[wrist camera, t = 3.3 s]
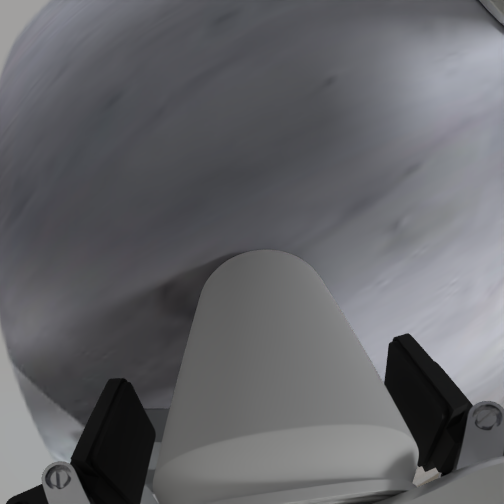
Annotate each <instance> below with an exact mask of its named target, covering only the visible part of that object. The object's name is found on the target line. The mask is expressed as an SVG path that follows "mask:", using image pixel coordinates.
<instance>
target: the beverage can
mask: <svg viewBox="0 0 504 504" xmlns="http://www.w3.org/2000/svg"><path fill="white" fill-rule="evenodd" d="M418 458H419V451H418V447H417V444H416V442H415V440H414V438H413V436H412V435H411V433H410V431H409V429H408V427H407V425H406V423H405V421H404V419H403V418H402V416H401V414H400V412H399V410H398V408H397V407H396V405H395V403H394V401H393V399H392V397H391V396H390V394H389V392H388V390H387V388H386V387H385V385H384V383H383V381H382V379H381V378H380V376H379V374H378V372H377V371H376V369H375V367H374V365H373V364H372V362H371V360H370V358H369V357H368V355H367V353H366V352H365V350H364V348H363V346H362V345H361V343H360V341H359V340H358V338H357V336H356V335H355V333H354V331H353V330H352V328H351V326H350V325H349V323H348V321H347V320H346V318H345V316H344V315H343V313H342V311H341V310H340V308H339V306H338V305H337V303H336V301H335V300H334V298H333V297H332V295H331V293H330V292H329V290H328V288H327V287H326V285H325V284H324V282H323V280H322V279H321V277H320V276H319V274H318V273H317V272H316V271H315V270H314V269H313V268H312V267H311V266H310V265H309V264H308V263H307V262H305V261H304V260H302V259H301V258H299V257H297V256H295V255H292V254H290V253H287V252H283V251H278V250H266V249H265V250H254V251H249V252H246V253H242V254H240V255H237V256H235V257H233V258H231V259H229V260H227V261H226V262H224V263H223V264H222V265H220V266H219V267H218V268H217V269H216V270H215V271H214V272H213V273H212V274H211V276H210V277H209V278H208V280H207V281H206V283H205V285H204V287H203V289H202V292H201V295H200V298H199V301H198V305H197V308H196V312H195V315H194V319H193V323H192V326H191V330H190V333H189V337H188V341H187V344H186V348H185V352H184V355H183V359H182V363H181V367H180V370H179V374H178V378H177V382H176V386H175V390H174V394H173V398H172V402H171V406H170V410H169V414H168V418H167V422H166V426H165V430H164V434H163V439H162V443H161V447H160V451H159V456H158V460H157V465H156V469H155V474H154V478H153V491H154V494H155V496H156V499H157V501H158V503H159V504H373V503H376V502H379V501H382V500H385V499H388V498H390V497H393V496H396V495H399V494H401V493H404V492H407V491H409V490H412V489H414V488H417V486H415V485H414V484H413V483H412V482H413V479H414V476H415V472H416V469H417V464H418Z"/></svg>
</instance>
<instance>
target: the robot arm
mask: <svg viewBox="0 0 504 504" xmlns="http://www.w3.org/2000/svg"><path fill="white" fill-rule="evenodd" d="M479 1H480V2H481V3H482V4H483V5H484V7H485V8H486V9H487V10H488V11H489V12H490V13H491V14H492V15H493V16H494V17H495V18H496V19H497V20H498V21H499V22H500V23H501V24H502V25H503V26H504V0H479ZM384 385H385V387H386V388H387V390H388V392H389V394H390V396H391V397H392V399H393V401H394V403H395V405H396V407H397V408H398V410H399V412H400V414H401V416H402V418H403V419H404V421H405V423H406V425H407V427H408V429H409V431H410V433H411V435H412V436H413V438H414V440H415V442H416V444H417V447H418V451H419V458H418V464H417V465H418V466H419V467H421V466H422V467H423V469H424V471H425V472H426V471H429V470H431V469H433V468H435V467H436V469H437V470H438V472H440V473H439V476H438V479H435V480H433V481H431V482H429V483H426V484H424V485H422V486H419V487H417V488H414V489H412V490H409V491H407V492H404V493H401V494H399V495H396V496H393V497H390V498H388V499H385V500H382V501H379V502H376V503H373V504H504V409H503V408H502V407H501V406H500V405H499V404H497V403H495V402H492V401H482V402H479V403H477V404H475V405H474V406H473V405H472V404H471V403H470V401H469V400H468V399H467V398H466V396H465V395H464V394H463V393H462V392H461V390H460V389H459V388H458V387H457V386H456V384H455V383H454V382H453V381H452V380H451V378H450V377H449V376H448V375H447V374H446V373H445V371H444V370H443V369H442V368H441V367H440V366H439V364H438V363H436V362H435V361H433V360H432V359H431V357H430V356H429V355H428V354H427V353H426V352H425V351H424V349H423V348H422V347H421V346H420V345H419V344H418V343H417V341H416V340H415V339H414V338H413V337H412V336H411V335H410V334H408V333H407V334H404V335H401V336H397V337H394V338H393V341H392V342H390V343H389V347H388V357H387V366H386V374H385V382H384ZM155 438H156V432H155V429H154V427H153V425H152V423H151V421H150V419H149V418H148V416H147V414H146V412H145V410H144V408H143V406H142V404H141V402H140V400H139V398H138V396H137V394H136V392H135V390H134V388H133V386H132V384H131V383H130V382H127V380H126V379H123V378H118V379H109V381H108V382H107V384H106V386H105V388H104V390H103V392H102V394H101V396H100V398H99V400H98V402H97V404H96V406H95V408H94V410H93V412H92V414H91V416H90V418H89V420H88V422H87V425H86V427H85V429H84V431H83V433H82V435H81V437H80V439H79V442H78V444H77V446H76V448H75V450H74V453H73V455H72V457H71V463H70V464H69V463H67V462H59V461H58V462H55V463H52V464H51V465H49V466H48V467H47V468H46V469H45V470H44V472H43V474H42V484H41V485H39V486H36V487H34V488H32V489H30V490H28V491H25V492H23V493H21V494H18V495H16V496H14V497H12V498H10V499H9V500H8V501H7V503H6V504H140V503H141V498H142V494H143V489H144V485H145V480H146V476H147V471H148V467H149V463H150V459H151V454H152V450H153V446H154V442H155Z"/></svg>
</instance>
